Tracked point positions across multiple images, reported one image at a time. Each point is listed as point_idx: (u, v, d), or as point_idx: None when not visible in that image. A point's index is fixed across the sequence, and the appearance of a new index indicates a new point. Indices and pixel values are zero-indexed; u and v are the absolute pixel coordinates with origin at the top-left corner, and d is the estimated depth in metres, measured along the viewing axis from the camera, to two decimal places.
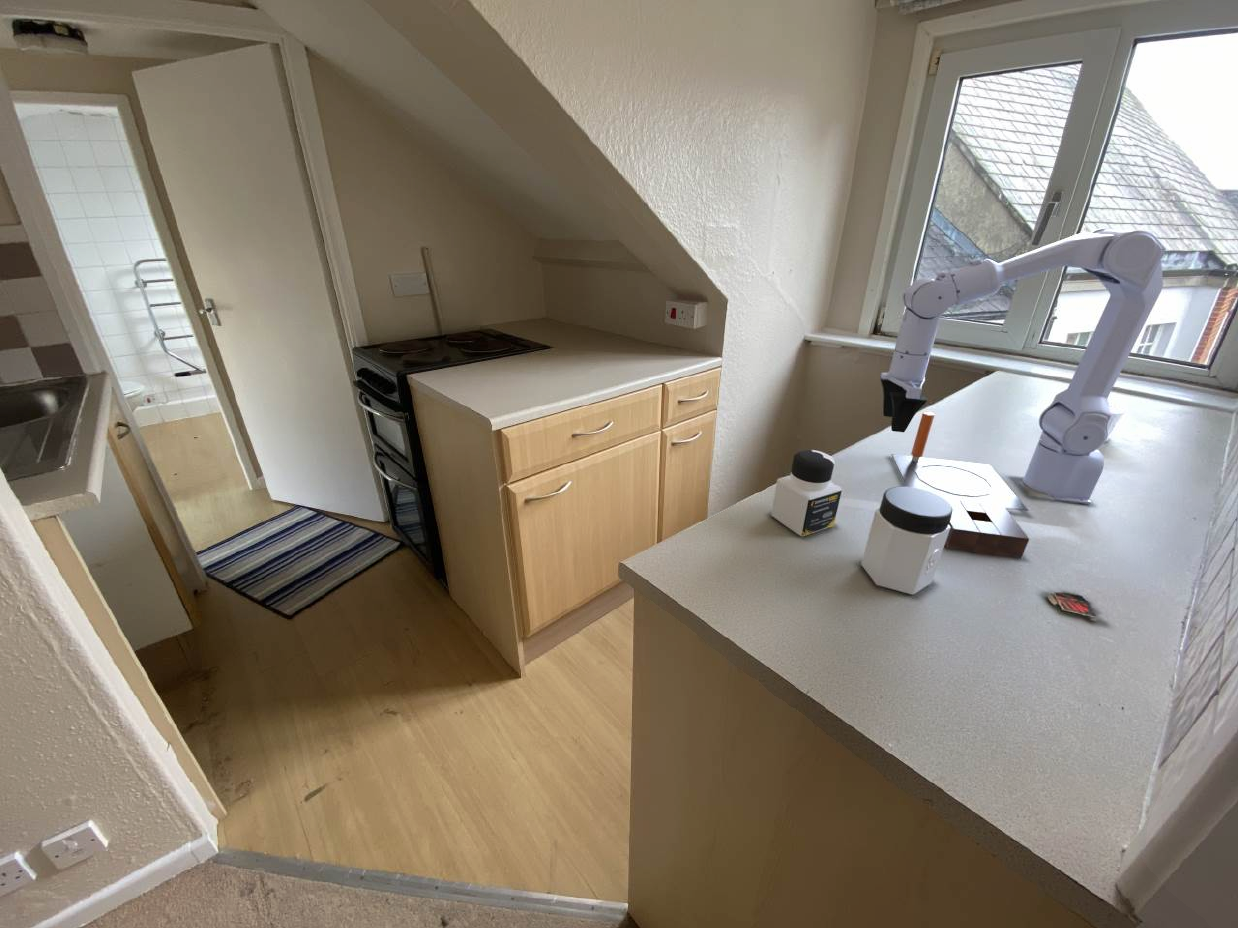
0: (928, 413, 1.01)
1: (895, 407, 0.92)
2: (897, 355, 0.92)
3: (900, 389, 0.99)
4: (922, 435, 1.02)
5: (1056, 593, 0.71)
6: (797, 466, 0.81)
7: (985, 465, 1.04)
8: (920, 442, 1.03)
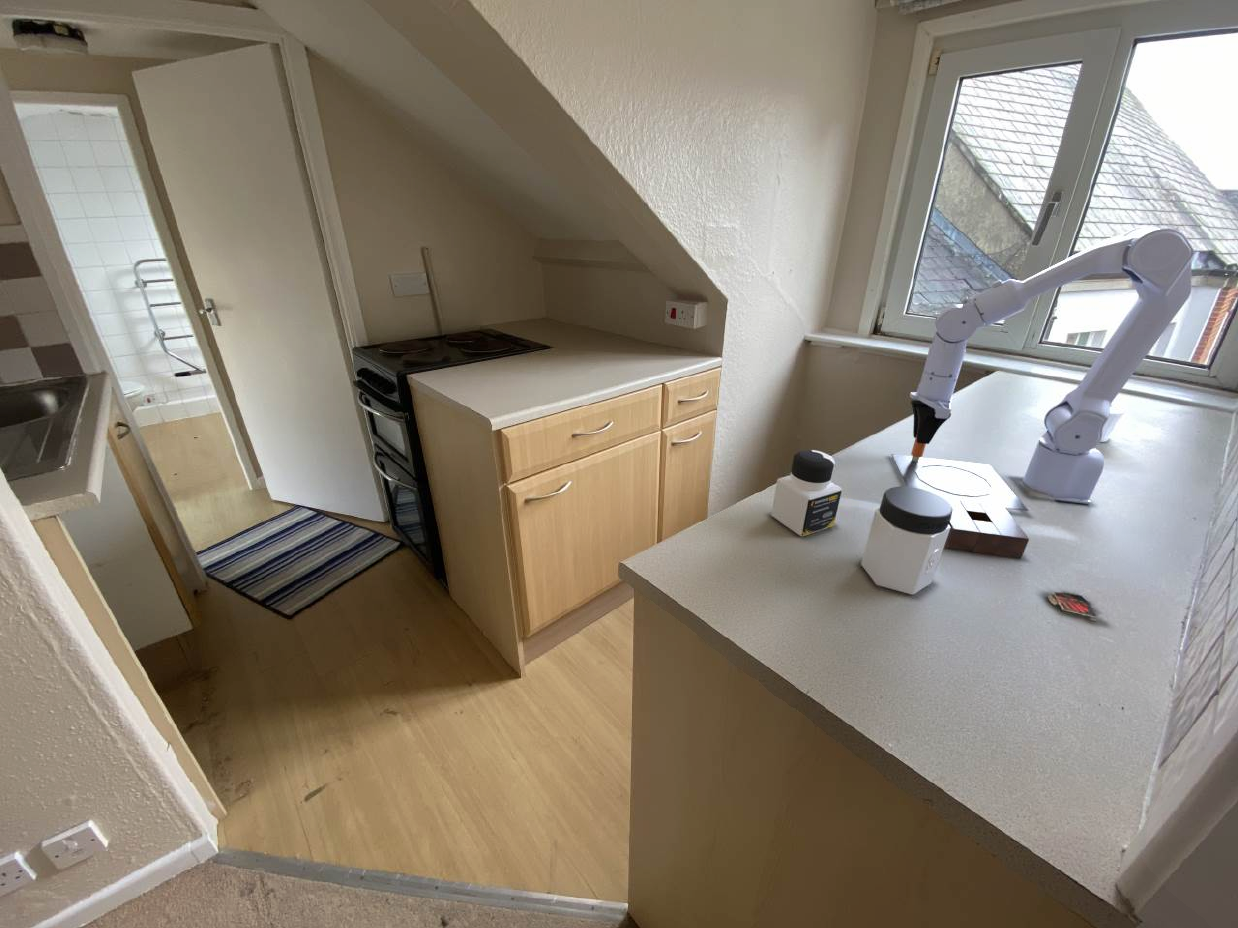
0: None
1: (921, 421, 0.99)
2: (926, 376, 0.97)
3: None
4: None
5: (1056, 593, 0.71)
6: (797, 466, 0.81)
7: (985, 465, 1.04)
8: None
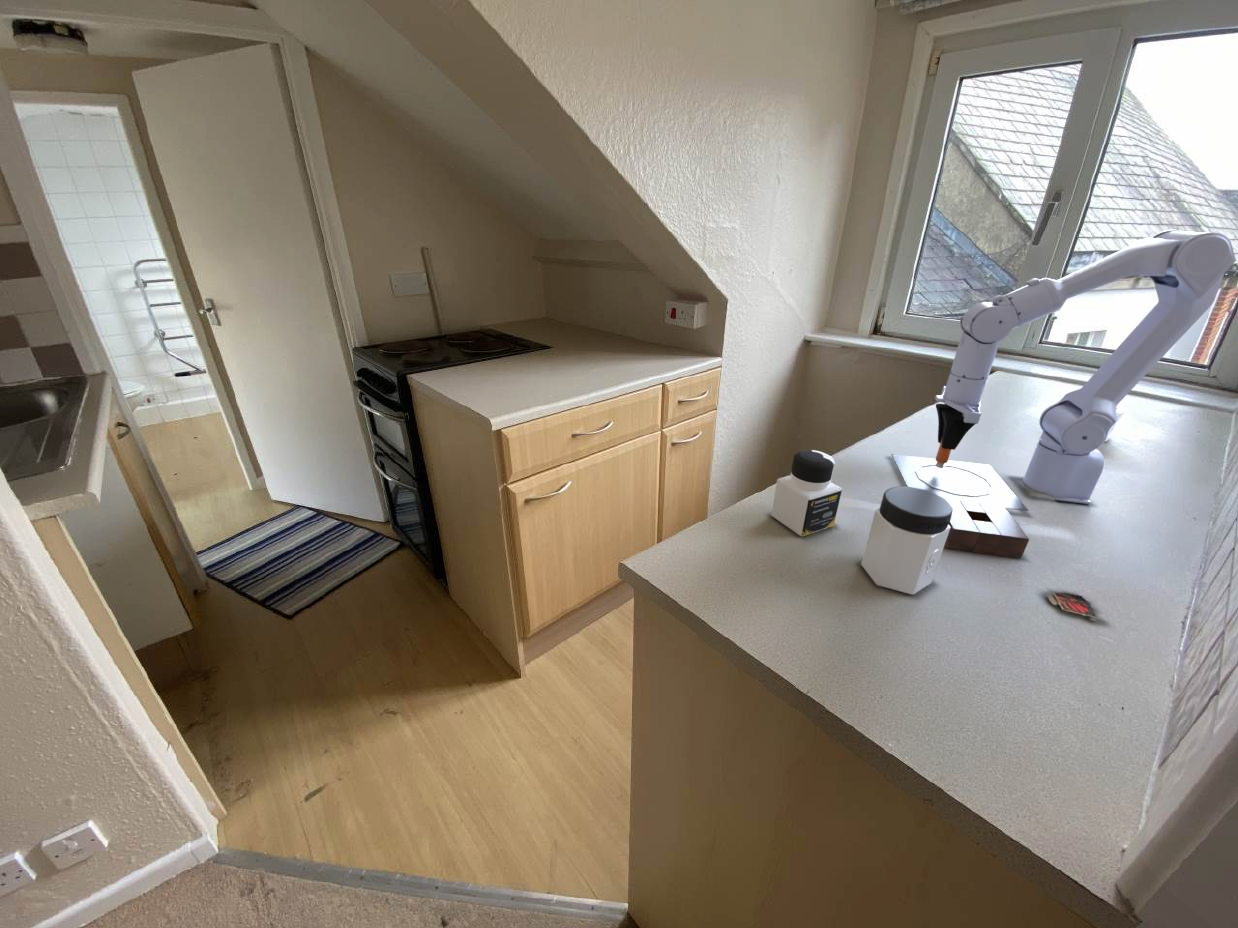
0: None
1: (947, 425, 0.94)
2: (953, 379, 0.92)
3: None
4: None
5: (1056, 593, 0.71)
6: (797, 466, 0.81)
7: (985, 465, 1.04)
8: None
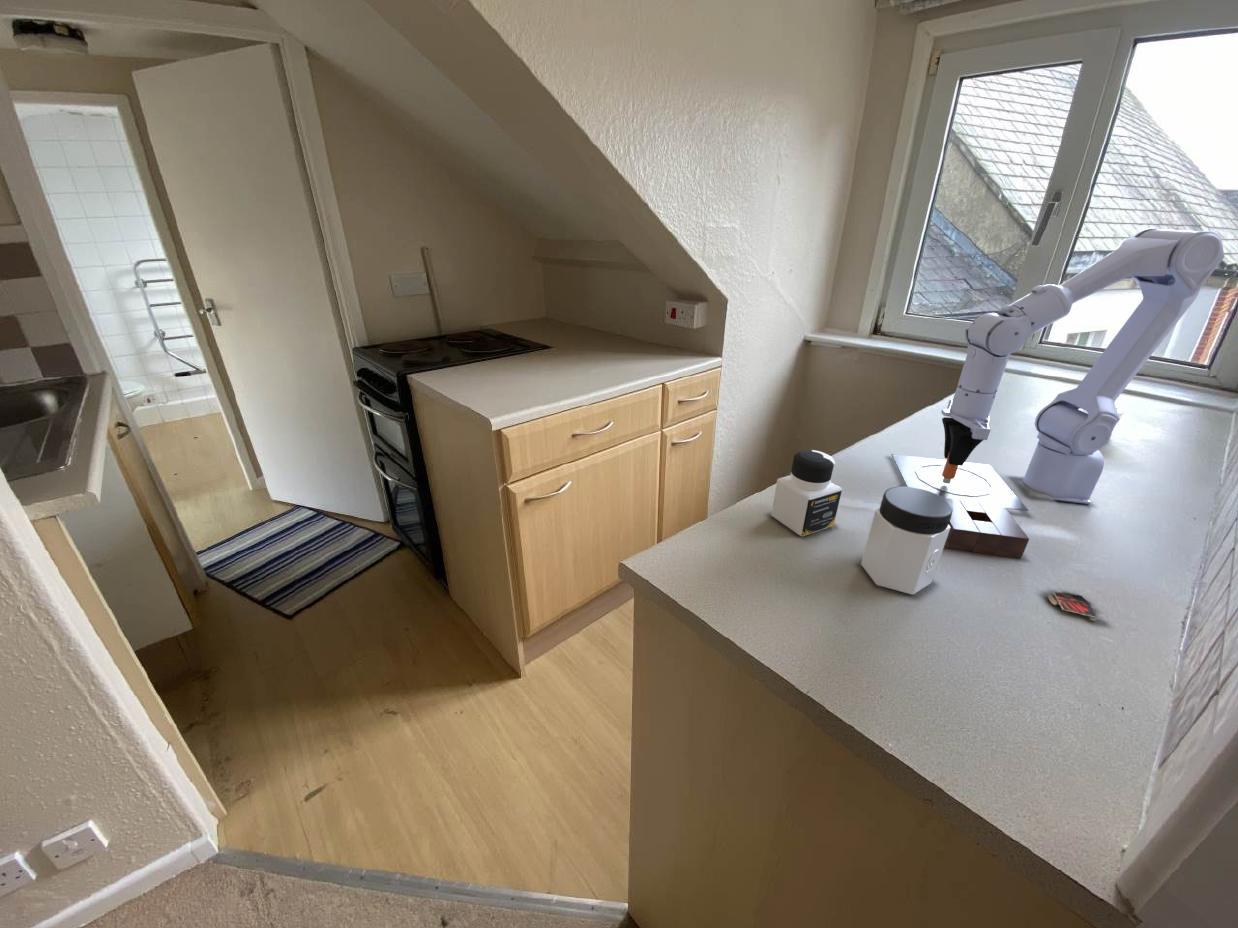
0: None
1: (954, 441, 0.90)
2: (961, 392, 0.88)
3: None
4: None
5: (1056, 593, 0.71)
6: (797, 466, 0.81)
7: (985, 465, 1.04)
8: None
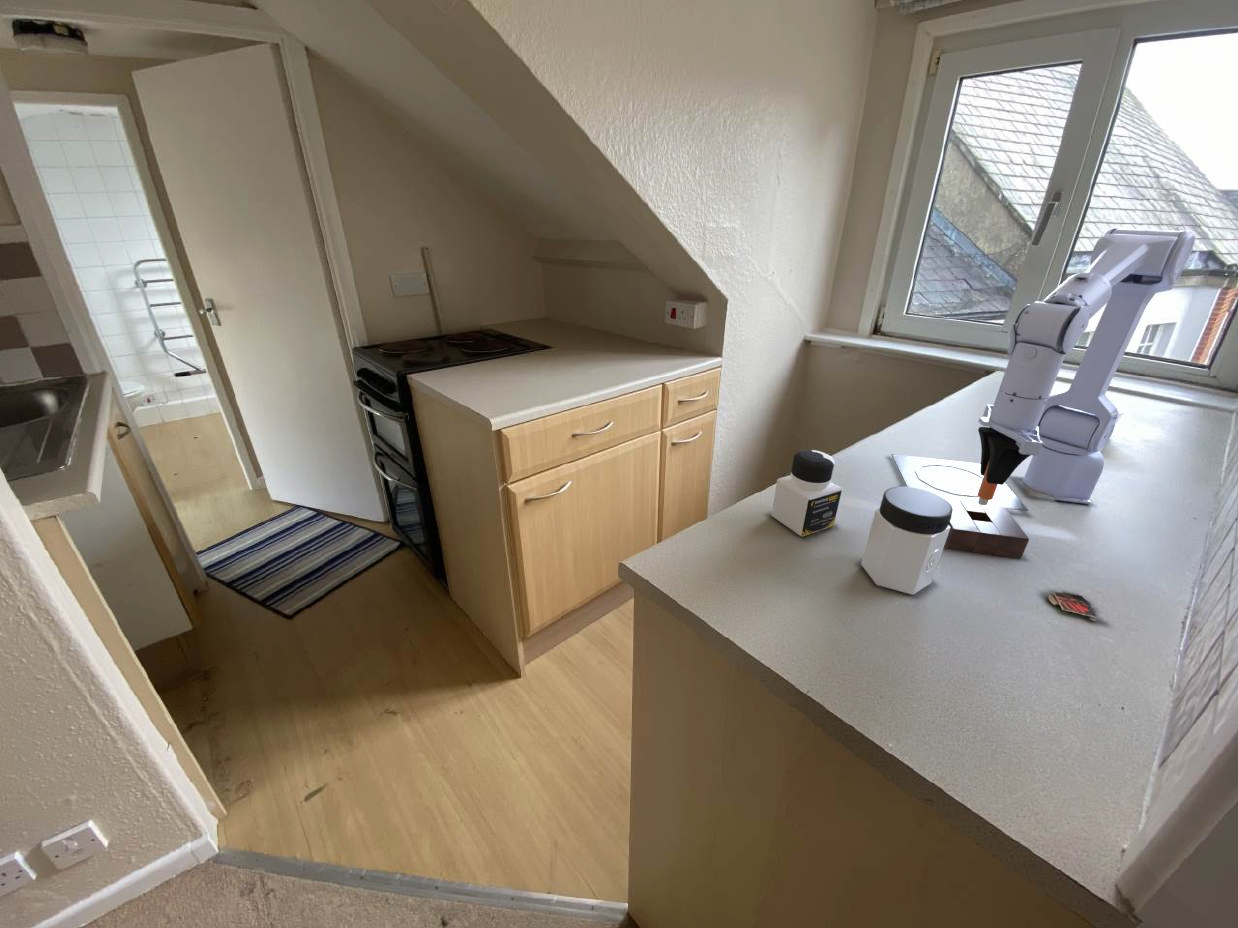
0: None
1: (995, 456, 0.75)
2: (1005, 398, 0.73)
3: None
4: None
5: (1056, 593, 0.71)
6: (797, 466, 0.81)
7: None
8: None
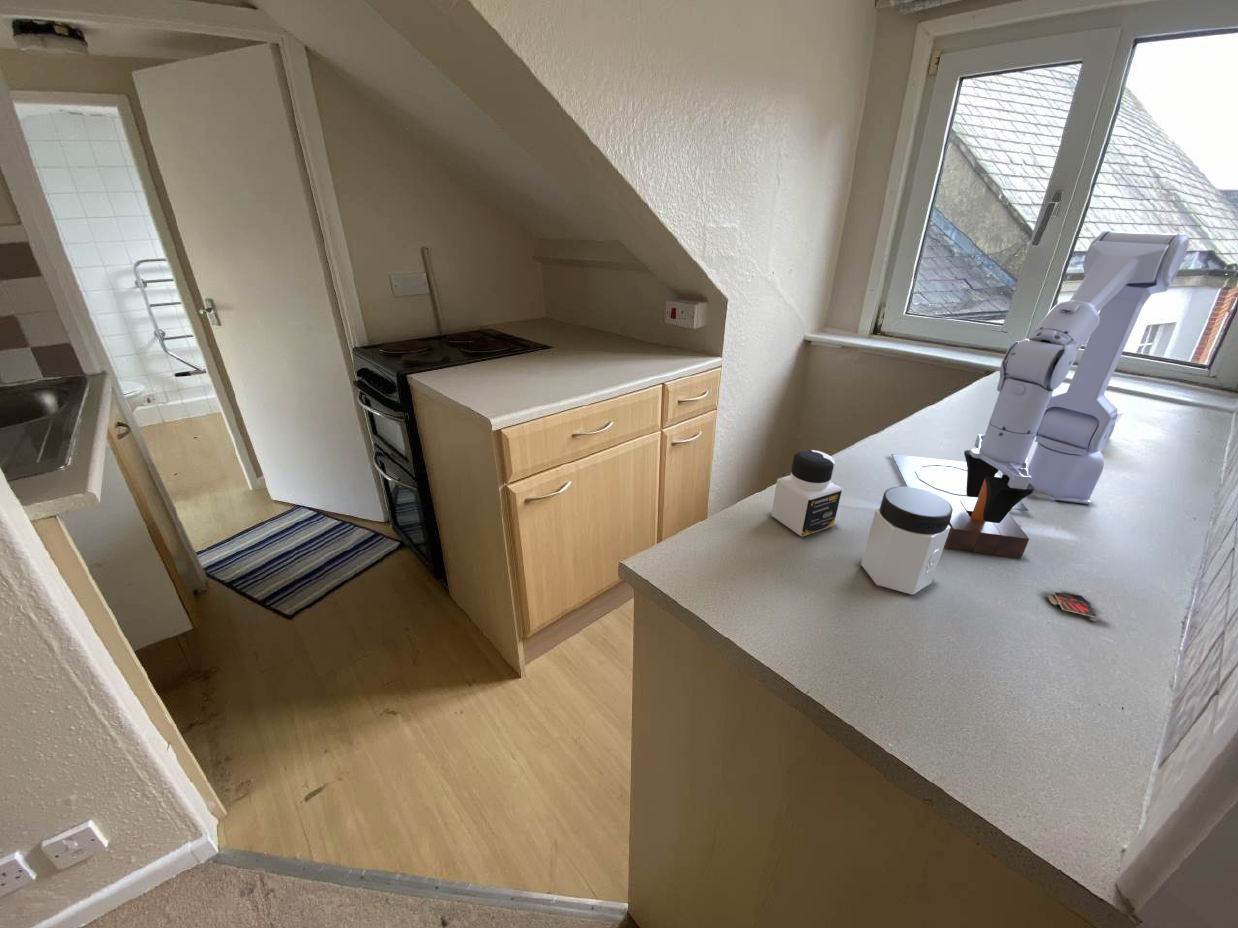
0: None
1: (992, 495, 0.75)
2: (994, 431, 0.75)
3: (990, 466, 0.82)
4: (983, 506, 0.80)
5: (1056, 593, 0.71)
6: (797, 466, 0.81)
7: None
8: (981, 514, 0.81)
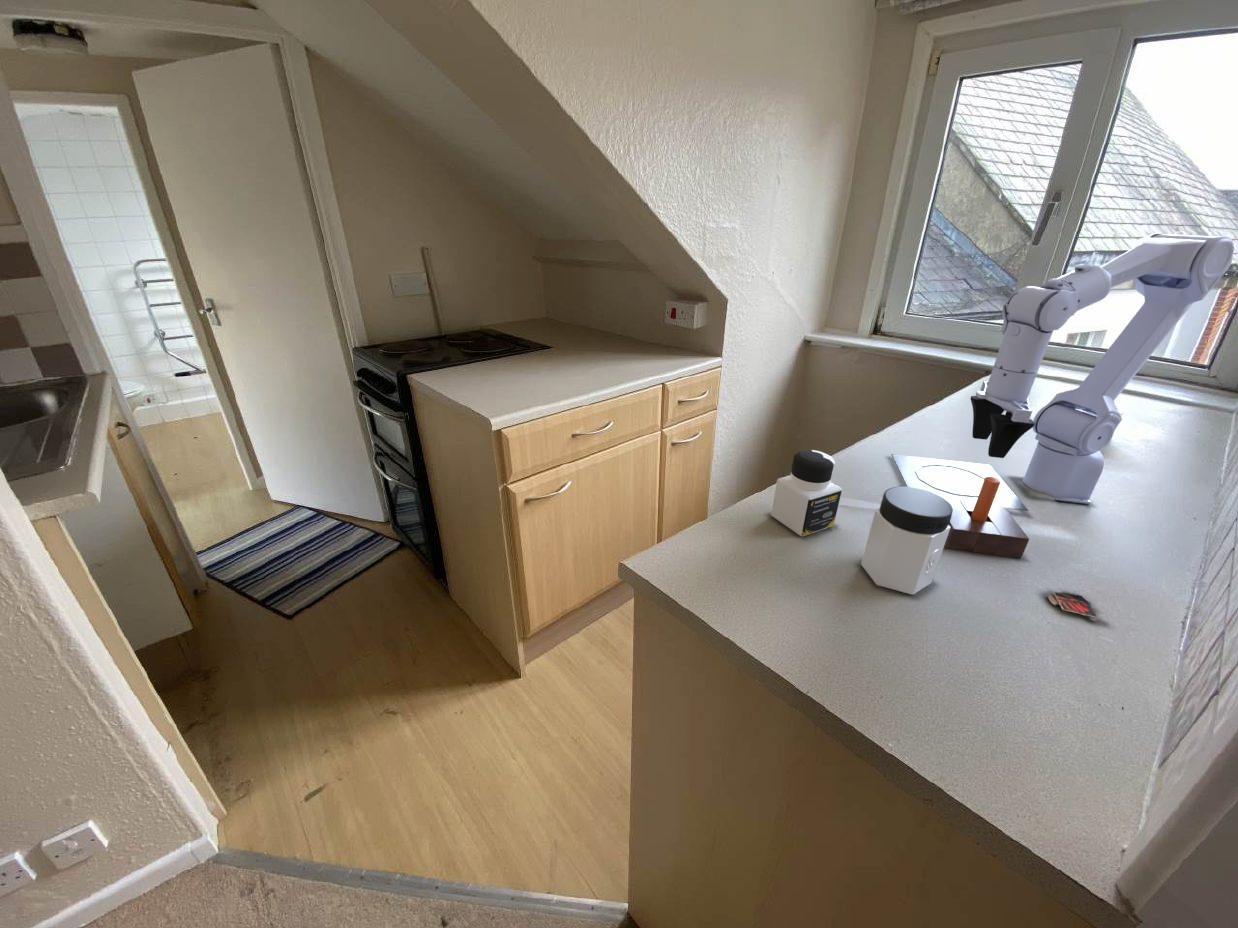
0: (992, 479, 0.79)
1: (996, 431, 0.82)
2: (999, 372, 0.82)
3: (994, 409, 0.89)
4: (983, 506, 0.80)
5: (1056, 593, 0.71)
6: (797, 466, 0.81)
7: (985, 465, 1.04)
8: (981, 514, 0.81)
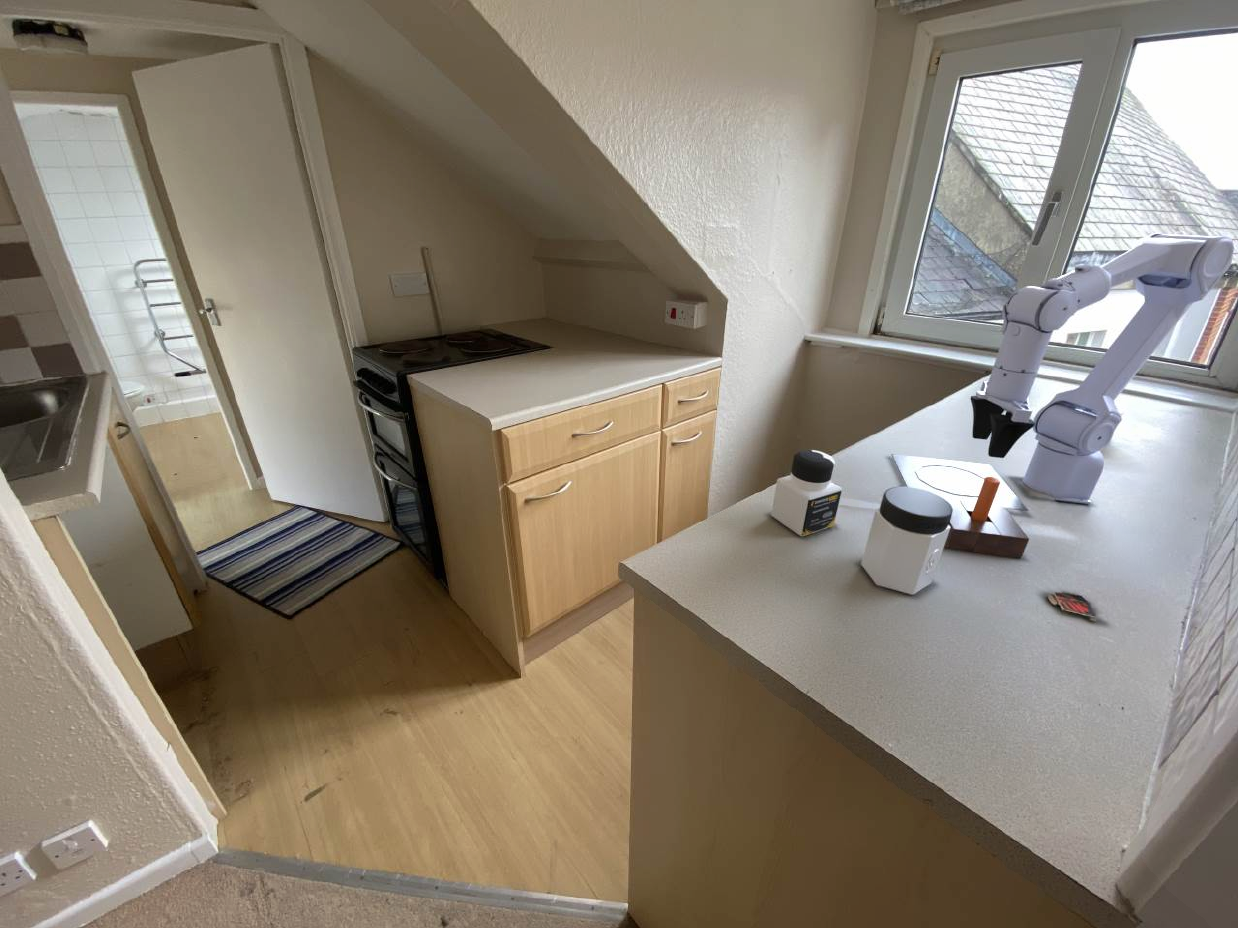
0: (992, 479, 0.79)
1: (996, 431, 0.82)
2: (999, 372, 0.82)
3: (994, 409, 0.89)
4: (983, 506, 0.80)
5: (1056, 593, 0.71)
6: (797, 466, 0.81)
7: (985, 465, 1.04)
8: (981, 514, 0.81)
